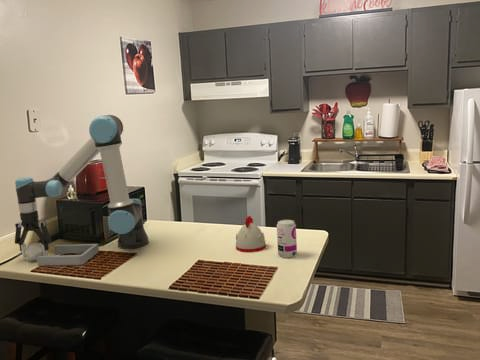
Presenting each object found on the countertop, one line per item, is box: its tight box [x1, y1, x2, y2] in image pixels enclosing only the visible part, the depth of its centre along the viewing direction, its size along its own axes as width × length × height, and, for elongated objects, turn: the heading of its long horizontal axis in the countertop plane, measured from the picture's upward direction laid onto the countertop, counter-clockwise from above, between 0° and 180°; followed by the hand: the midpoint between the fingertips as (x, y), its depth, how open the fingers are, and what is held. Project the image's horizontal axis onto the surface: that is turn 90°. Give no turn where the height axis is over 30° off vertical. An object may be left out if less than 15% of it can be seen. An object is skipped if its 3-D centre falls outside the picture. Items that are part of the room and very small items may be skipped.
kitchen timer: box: [235, 215, 267, 253], centre depth 207 cm, size 14×14×15 cm
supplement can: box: [276, 219, 298, 259], centre depth 193 cm, size 8×8×15 cm
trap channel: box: [36, 243, 100, 267], centre depth 208 cm, size 22×17×4 cm
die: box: [24, 242, 43, 262], centre depth 209 cm, size 8×9×10 cm
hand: (35, 257), depth 210 cm, fingers open, 10 cm apart
